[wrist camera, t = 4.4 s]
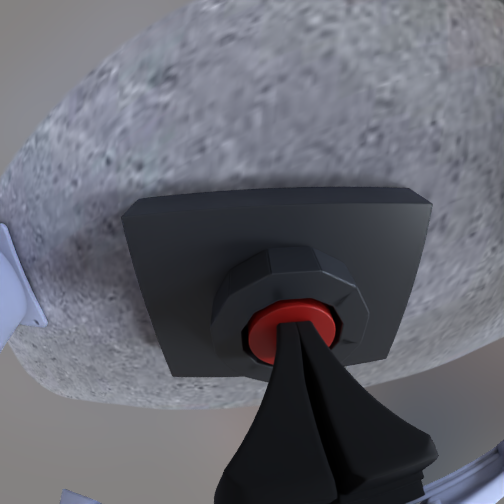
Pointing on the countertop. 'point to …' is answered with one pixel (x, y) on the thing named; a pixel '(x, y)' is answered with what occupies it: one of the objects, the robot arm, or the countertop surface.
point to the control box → (274, 268)
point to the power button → (284, 311)
